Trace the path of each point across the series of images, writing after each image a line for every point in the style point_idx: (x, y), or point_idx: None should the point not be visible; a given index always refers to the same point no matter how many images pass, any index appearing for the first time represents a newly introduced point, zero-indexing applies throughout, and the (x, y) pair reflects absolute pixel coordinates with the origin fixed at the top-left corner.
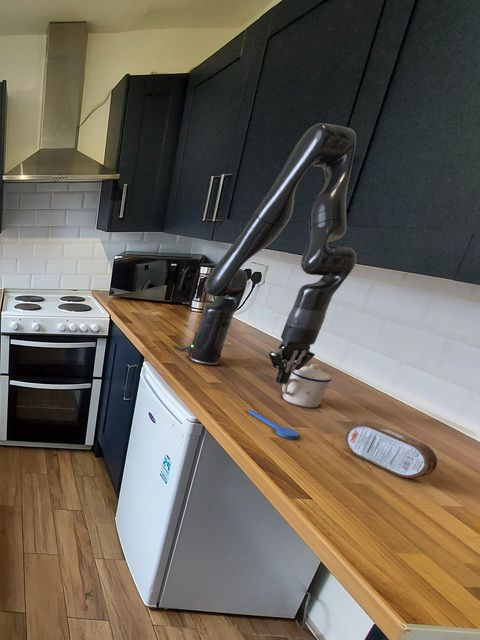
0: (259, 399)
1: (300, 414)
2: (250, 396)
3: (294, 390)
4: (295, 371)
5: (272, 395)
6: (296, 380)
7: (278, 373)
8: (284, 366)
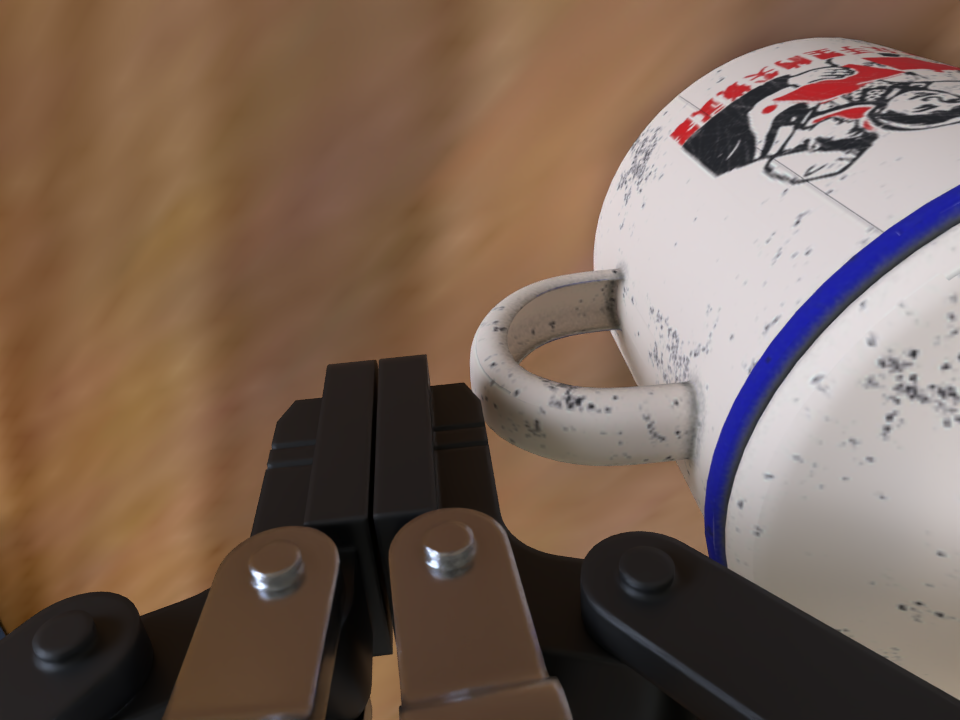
0: (244, 181)
1: None
2: (161, 79)
3: (637, 362)
4: (784, 433)
5: (555, 44)
6: (660, 461)
7: (260, 523)
8: (393, 606)
